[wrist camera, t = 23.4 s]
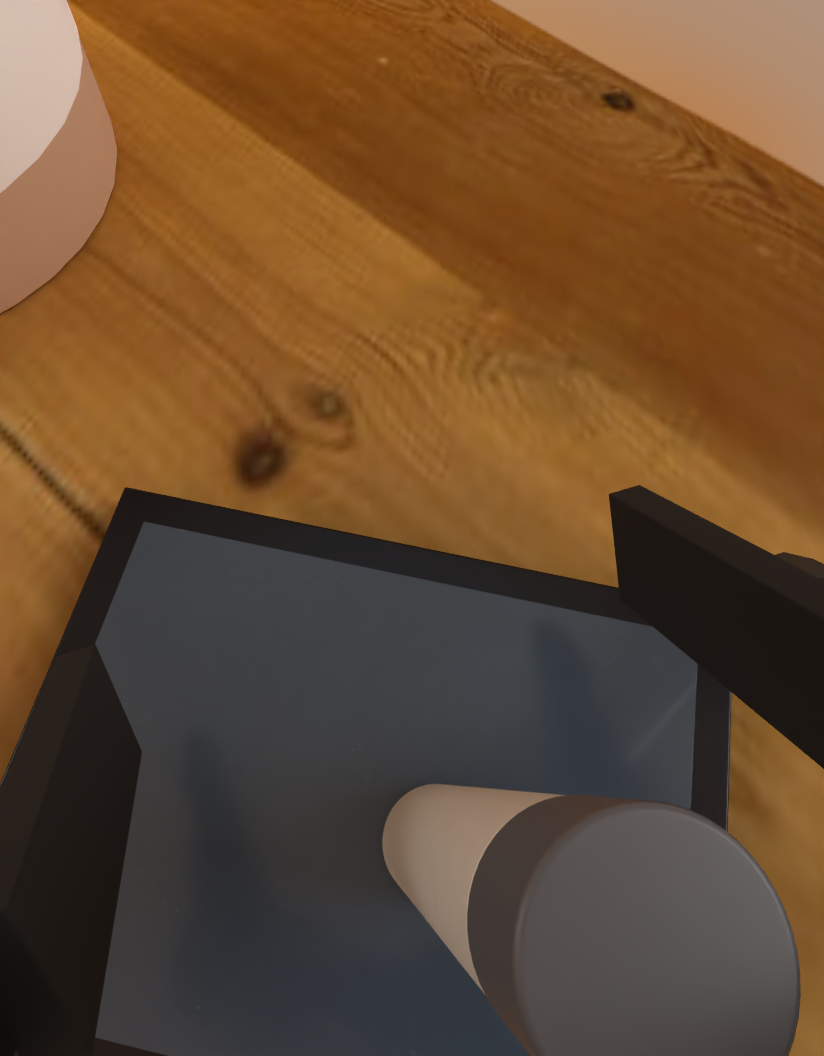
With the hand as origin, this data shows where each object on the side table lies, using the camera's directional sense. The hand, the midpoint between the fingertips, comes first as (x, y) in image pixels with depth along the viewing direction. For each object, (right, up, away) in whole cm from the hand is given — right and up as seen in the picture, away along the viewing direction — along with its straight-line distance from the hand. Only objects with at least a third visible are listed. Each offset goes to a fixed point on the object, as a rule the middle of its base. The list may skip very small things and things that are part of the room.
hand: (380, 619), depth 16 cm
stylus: (+1, -6, +2) cm, 6 cm away
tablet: (0, -5, +3) cm, 6 cm away
